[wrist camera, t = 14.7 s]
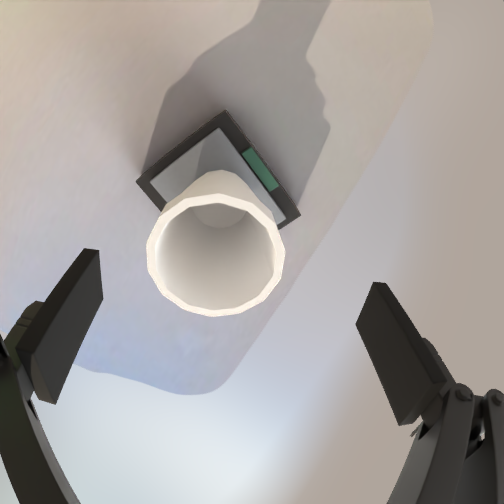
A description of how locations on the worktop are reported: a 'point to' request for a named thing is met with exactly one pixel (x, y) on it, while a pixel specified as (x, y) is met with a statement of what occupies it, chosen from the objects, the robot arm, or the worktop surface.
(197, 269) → the foam cup
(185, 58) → the worktop surface
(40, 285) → the worktop surface
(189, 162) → the scale
